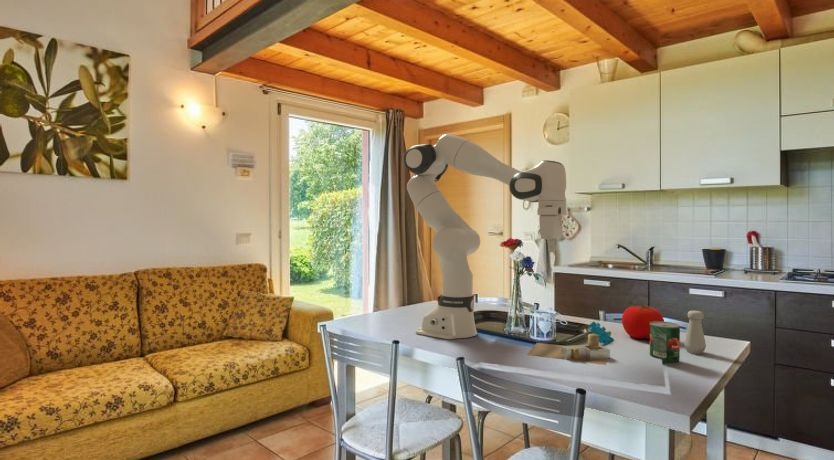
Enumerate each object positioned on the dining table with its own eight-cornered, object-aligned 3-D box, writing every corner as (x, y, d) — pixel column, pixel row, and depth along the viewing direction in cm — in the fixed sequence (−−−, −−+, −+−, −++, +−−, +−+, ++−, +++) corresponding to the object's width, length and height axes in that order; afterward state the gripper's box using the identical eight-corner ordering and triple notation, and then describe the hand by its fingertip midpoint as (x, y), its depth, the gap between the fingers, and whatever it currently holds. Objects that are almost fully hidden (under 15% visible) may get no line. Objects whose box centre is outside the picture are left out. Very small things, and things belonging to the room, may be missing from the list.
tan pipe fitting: (569, 361, 134) (569, 350, 134) (558, 354, 140) (558, 344, 140) (609, 358, 137) (610, 347, 137) (596, 352, 143) (597, 342, 143)
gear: (606, 346, 149) (587, 320, 155) (593, 356, 152) (574, 330, 158) (622, 345, 156) (604, 320, 162) (609, 355, 159) (591, 330, 165)
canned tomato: (648, 356, 144) (648, 320, 144) (677, 358, 141) (678, 322, 141) (650, 363, 137) (650, 325, 136) (681, 366, 134) (681, 328, 133)
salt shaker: (704, 356, 143) (705, 313, 143) (683, 353, 147) (683, 311, 147) (706, 351, 148) (707, 310, 148) (686, 348, 152) (686, 308, 151)
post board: (526, 359, 141) (526, 334, 140) (536, 347, 154) (536, 324, 154) (605, 369, 131) (605, 343, 131) (609, 355, 144) (609, 331, 144)
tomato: (640, 331, 174) (640, 300, 174) (672, 340, 162) (672, 306, 161) (613, 335, 170) (613, 302, 169) (644, 344, 157) (644, 309, 157)
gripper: (548, 210, 165) (548, 249, 166) (536, 209, 147) (536, 253, 147) (566, 210, 163) (566, 250, 163) (556, 209, 144) (556, 254, 145)
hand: (552, 252), depth 155 cm, fingers closed
